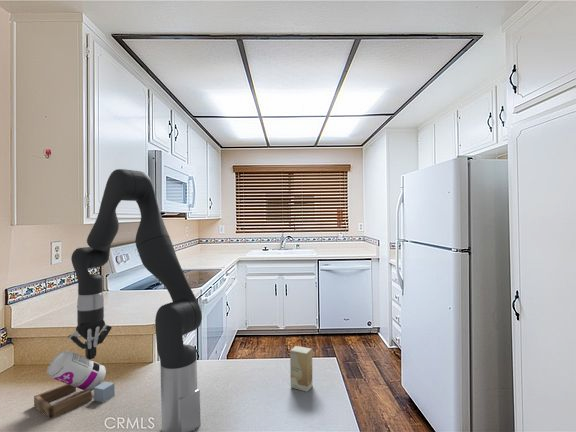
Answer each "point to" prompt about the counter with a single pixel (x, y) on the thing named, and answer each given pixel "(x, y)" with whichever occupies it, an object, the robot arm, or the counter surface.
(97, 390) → the slate-blue block
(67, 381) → the supplement can
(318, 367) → the counter surface
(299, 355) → the skincare box
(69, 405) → the frame
